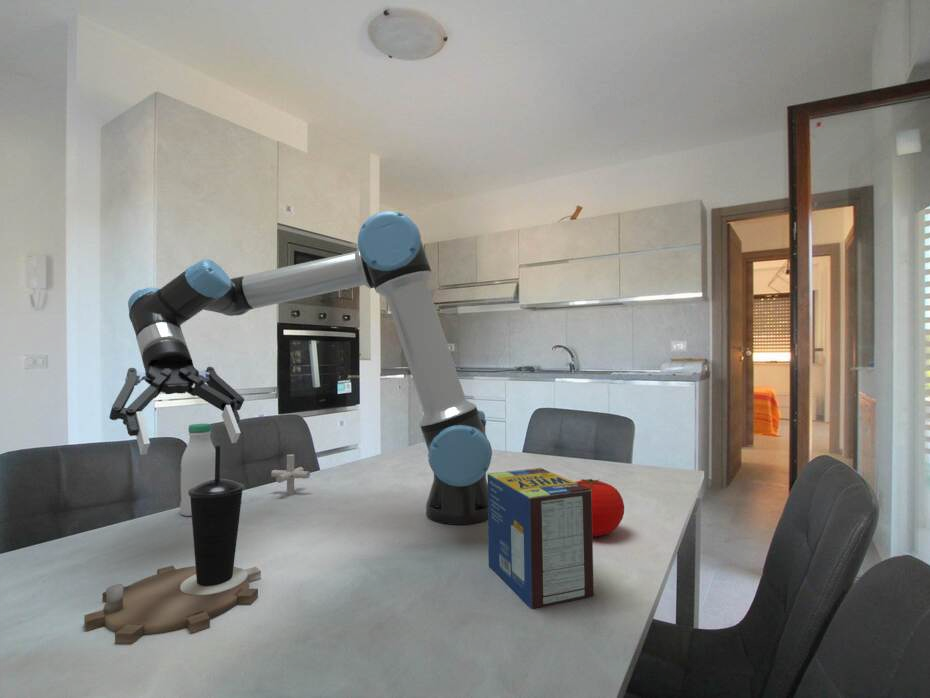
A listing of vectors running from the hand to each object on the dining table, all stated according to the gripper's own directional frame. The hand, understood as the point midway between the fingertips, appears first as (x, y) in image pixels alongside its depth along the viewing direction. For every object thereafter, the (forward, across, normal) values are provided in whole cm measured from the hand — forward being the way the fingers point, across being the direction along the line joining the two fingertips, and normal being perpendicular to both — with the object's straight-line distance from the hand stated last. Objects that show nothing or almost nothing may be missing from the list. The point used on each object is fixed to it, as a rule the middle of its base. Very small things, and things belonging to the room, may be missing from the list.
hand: (193, 443), depth 79 cm
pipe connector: (-8, -34, -38) cm, 51 cm away
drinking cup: (+20, 0, -8) cm, 21 cm away
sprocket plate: (+21, +4, -9) cm, 23 cm away
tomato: (+43, -60, +13) cm, 75 cm away
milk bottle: (-9, -12, -39) cm, 42 cm away
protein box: (+46, -35, +15) cm, 60 cm away
